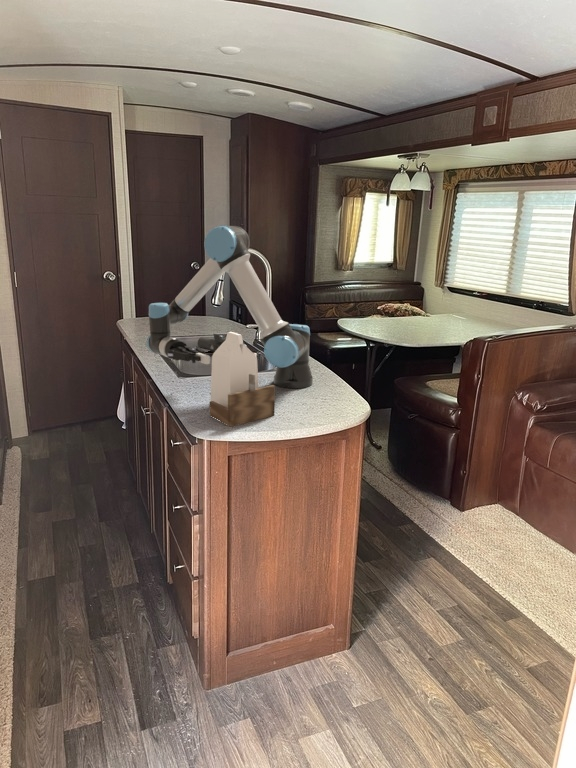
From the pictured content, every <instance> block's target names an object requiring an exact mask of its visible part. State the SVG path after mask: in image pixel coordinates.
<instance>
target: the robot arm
mask: <svg viewBox="0 0 576 768" xmlns="http://www.w3.org/2000/svg"><path fill="white" fill-rule="evenodd" d="M203 244H204V245H203V246H204V251H205V253H206V255H207V256H208V260H207V261H206V262H205V263H204V264H203V265H202V267H201V268H200V269H199V270H198V271H197V273H196V274H195V275H194V276H193V277H192V279H190V281H189V282H188V283H187V284H186V285H185V286H184V288H183V289H181V291H180V292H179V293H178V295H176V297H175V299H173V300H172V301H171V302H170V304H168V302H154V303H153V302H152V303H150V304H149V305H148V322H149V323H148V324H149V336H148V337H147V339H146V347H147V348H148V350H149V351H151V352H152V353H154V354H157V355H160V356H163V357H165V358H168V359H169V360H174V361H186V362H190V361H192V364H196V362H198V363H201V364H204V365H209V364H210V365H211V357H210V355H208V354H206V351H205V350H204V349H202V348H199V347H198V345H197V346H195V347H194V348H193V347H191V346H189V345H187V344H186V343H185V342H184V341H183V340H182V339H177V338H174V337H172V335H171V326H172V325H176V324H179V323H182V322H184V321H185V320H186V319H187V318H188V317H189V313H190V312H191V310H192V309H193V308H194V307H195V306H196V305H197V304H198V303H199V302H200V301H201V299H202V298H203V297H204V296H205V295H206V294H207V293H208V291H210V289H211V288H212V287H213V286H214V285H216V283H217V282H218V281H219V279H220V278H221V277H222V276H223V275H224V274H225V273H227V274H228V276H229V277H230V279H231V281H232V283H233V284H234V286H235V288H236V290H237V291H238V295H239V296H240V297H241V299H242V300H243V301H242V302H244V304H245V306H246V308H247V310H248V312H249V313H250V315H251V316H252V318H253V320H254V322H255V324H256V325H257V328H258V329H259V332H260V336H259V340H260V342H261V343H262V345H263V347H264V348H263V353H264V355H263V356H264V357H265V359H266V360H267V362H268V363H269V364H270V365H271V366H273V367H276V370H275V374H274V376H273V385H274V386H278V387H281V388H287V389H302V388H303V389H304V388H308V387H311V386H312V385H313V383H314V382H313V381H314V379H313V375H312V372H311V368H310V341H311V340H310V338H311V337H310V336H311V331H310V330H311V329H310V327H309V326H308V325H306V324H298V323H293V324H292V323H289V322H288V321H284V320H283V319H282V317H281V316H280V314H279V312H278V311H277V309H276V307H275V305H274V303H273V301H272V299H271V298H270V296H269V294H268V292H267V290H266V289H265V287H264V285H263V284H262V282H261V280H260V279H259V277H258V274H257V273H256V271H255V269H254V267H253V265H252V264H251V262H250V257H251V253H250V251H249V249H250V245H251V242H250V236H249V234H248V232H247V231H246V230H245V229H244V228H242V227H241V226H238V225H226V224H225V225H223V224H222V225H218V226H216V227H213V228H211V229H210V230H209V231H208V232H207V233H206V235H205V237H204V242H203Z"/></svg>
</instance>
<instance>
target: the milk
mask: <svg viewBox="0 0 576 768" xmlns="http://www.w3.org/2000/svg"><path fill="white" fill-rule="evenodd" d="M226 335H227V336H226ZM226 335H225V336H226V340H225V341H224V342H223V343H222V344H221V345H220V347H219V348H218V349H217V350H216V351H215V352H213V353H212V356H211V375H210V376H211V377H210V379H211V381H210V401H214V402H216V403H218V404H221V405H223V406H225V407H227V408H228V394H232V393H237V392H242V391H246V390H249V374H255V389H256V388H259V371H258V367H259V366H258V358H257V356H256V354H255V353H254V352H253V351H251V350H250V349H249V347H247V345H245V344H244V340H243V336H242V334H239V333H238V332H234V331H231V332H228V333H227V332H226Z"/></svg>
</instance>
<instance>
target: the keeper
mask: <svg viewBox="0 0 576 768" xmlns="http://www.w3.org/2000/svg"><path fill="white" fill-rule="evenodd" d="M275 391H276V385H275V384H270V385H267V386H261V387H258V388H256V389H255V374H249V390H246V391H242V392H237V393H232V394H228V408H227V407H225V406H223V405H221V404H218V403H216V402H214V401H211V400H210V401H209V417H210V416H212V417H214V418H216V419H218V420H220V421H221V422H220V421H219V422H220V423H222V422H223V423H222V424H224V423H225V424H224V425H226V424H227V425H226V426H228V425H229V426H228V427H230V426H231V427H234V425H235V426H238V424H239V425H242V423H243V424H247V423H250V422H254V421H258V420H261V419H266V418H270V417H274V416H275V407H276V405H275V404H276V402H275V400H276V399H275V398H276V397H275V394H276V392H275ZM212 417H211V418H212ZM214 418H213V419H214ZM216 419H215V420H216ZM218 420H217V421H218Z"/></svg>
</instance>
